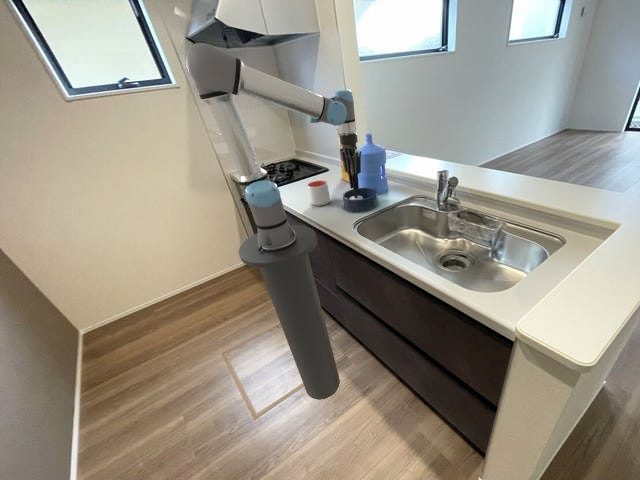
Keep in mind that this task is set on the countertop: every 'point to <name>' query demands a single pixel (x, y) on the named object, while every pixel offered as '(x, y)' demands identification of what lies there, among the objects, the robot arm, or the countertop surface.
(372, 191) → the bowl
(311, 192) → the cup
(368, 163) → the water jug
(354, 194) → the rod stand
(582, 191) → the countertop surface
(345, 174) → the pancake mix bag
